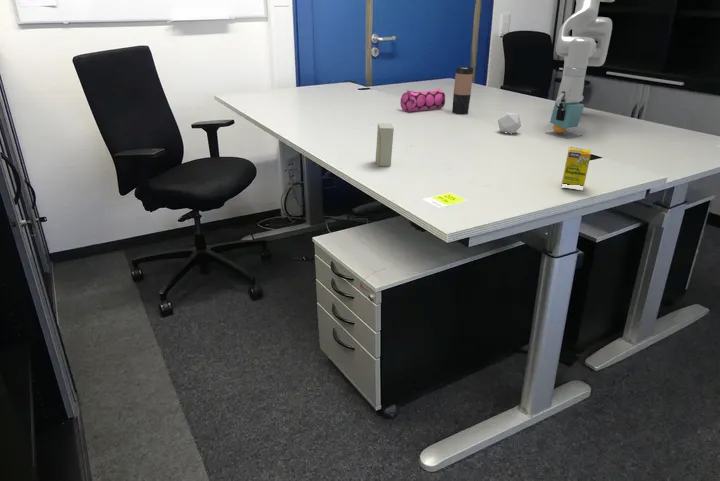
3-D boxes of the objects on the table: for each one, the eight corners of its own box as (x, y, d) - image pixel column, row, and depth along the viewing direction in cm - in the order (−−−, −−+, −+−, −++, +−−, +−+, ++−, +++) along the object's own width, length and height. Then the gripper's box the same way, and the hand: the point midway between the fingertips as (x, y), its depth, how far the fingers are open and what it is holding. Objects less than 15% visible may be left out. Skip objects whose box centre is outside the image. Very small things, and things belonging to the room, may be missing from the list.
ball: (571, 125, 215) (565, 135, 218) (562, 117, 217) (556, 127, 221) (562, 126, 212) (556, 137, 216) (554, 119, 215) (548, 129, 218)
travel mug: (468, 115, 245) (473, 69, 236) (451, 113, 246) (455, 68, 238) (468, 111, 252) (473, 66, 243) (452, 110, 253) (456, 66, 245)
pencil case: (412, 114, 243) (413, 91, 239) (398, 110, 250) (400, 88, 246) (447, 110, 255) (449, 88, 251) (433, 106, 262) (434, 85, 258)
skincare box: (375, 160, 174) (377, 123, 169) (389, 160, 175) (391, 123, 170) (377, 166, 169) (379, 127, 164) (391, 166, 169) (393, 127, 164)
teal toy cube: (561, 120, 220) (567, 99, 215) (577, 126, 215) (584, 104, 210) (549, 122, 215) (555, 100, 211) (566, 128, 210) (572, 106, 206)
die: (523, 134, 217) (516, 112, 218) (523, 128, 209) (516, 105, 210) (502, 140, 219) (496, 118, 220) (502, 134, 210) (495, 111, 212)
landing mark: (560, 130, 223) (560, 129, 223) (581, 135, 216) (581, 135, 216) (545, 133, 217) (545, 132, 217) (566, 138, 210) (566, 138, 210)
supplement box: (560, 188, 155) (568, 151, 150) (561, 182, 160) (568, 146, 156) (583, 191, 153) (591, 154, 149) (583, 185, 158) (591, 148, 154)
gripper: (579, 70, 214) (570, 115, 221) (552, 72, 204) (544, 119, 212) (596, 73, 209) (587, 119, 216) (570, 75, 199) (561, 123, 206)
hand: (566, 119), depth 214 cm, fingers closed on teal toy cube, 7 cm apart
